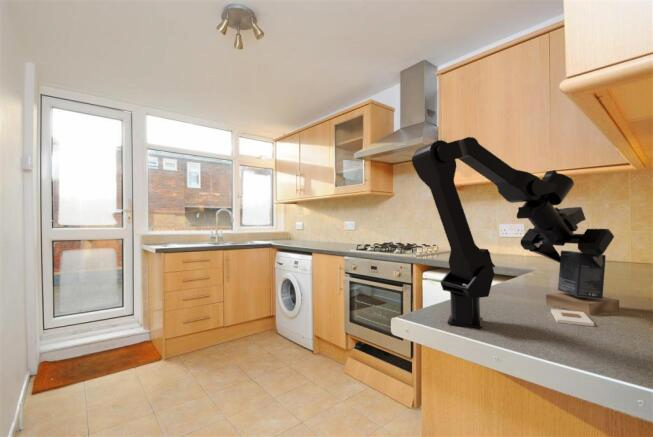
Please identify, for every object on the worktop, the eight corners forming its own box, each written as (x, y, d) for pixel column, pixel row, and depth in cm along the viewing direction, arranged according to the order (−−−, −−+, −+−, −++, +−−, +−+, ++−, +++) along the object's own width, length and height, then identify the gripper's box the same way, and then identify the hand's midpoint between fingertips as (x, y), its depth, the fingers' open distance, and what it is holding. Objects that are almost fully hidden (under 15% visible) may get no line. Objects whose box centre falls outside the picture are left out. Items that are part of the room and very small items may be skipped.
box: (603, 300, 71) (606, 254, 71) (576, 297, 72) (579, 252, 72) (581, 292, 79) (584, 252, 79) (556, 290, 80) (560, 249, 80)
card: (594, 326, 61) (594, 322, 61) (557, 322, 64) (557, 318, 64) (583, 314, 69) (583, 311, 69) (550, 311, 72) (550, 308, 72)
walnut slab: (589, 314, 69) (588, 303, 69) (546, 304, 78) (545, 294, 79) (619, 310, 72) (619, 299, 72) (574, 300, 81) (574, 291, 81)
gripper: (606, 191, 65) (642, 241, 68) (527, 199, 83) (558, 238, 86) (581, 228, 63) (619, 278, 66) (505, 228, 81) (537, 267, 84)
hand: (580, 263), depth 75 cm, fingers closed on box, 9 cm apart
